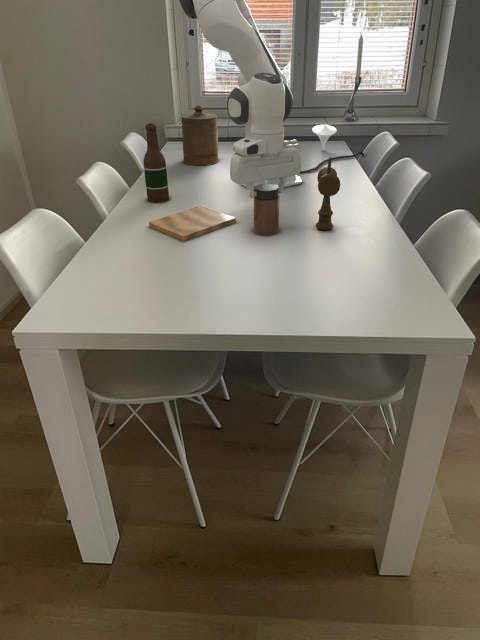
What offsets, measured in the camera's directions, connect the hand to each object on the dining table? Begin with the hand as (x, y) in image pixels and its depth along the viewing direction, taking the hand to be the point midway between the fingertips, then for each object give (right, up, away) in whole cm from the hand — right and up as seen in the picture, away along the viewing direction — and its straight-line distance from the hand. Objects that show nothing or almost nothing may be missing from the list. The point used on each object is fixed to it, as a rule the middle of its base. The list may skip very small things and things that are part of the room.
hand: (266, 195), depth 135 cm
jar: (0, -9, +5) cm, 10 cm away
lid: (0, +1, -1) cm, 2 cm away
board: (-21, -6, +10) cm, 24 cm away
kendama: (+17, -8, +7) cm, 20 cm away
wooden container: (-24, +34, +75) cm, 86 cm away
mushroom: (+31, +42, +88) cm, 102 cm away
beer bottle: (-35, +6, +31) cm, 47 cm away
